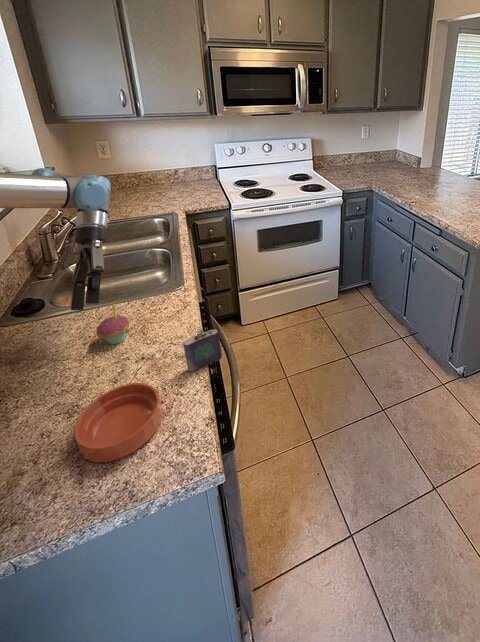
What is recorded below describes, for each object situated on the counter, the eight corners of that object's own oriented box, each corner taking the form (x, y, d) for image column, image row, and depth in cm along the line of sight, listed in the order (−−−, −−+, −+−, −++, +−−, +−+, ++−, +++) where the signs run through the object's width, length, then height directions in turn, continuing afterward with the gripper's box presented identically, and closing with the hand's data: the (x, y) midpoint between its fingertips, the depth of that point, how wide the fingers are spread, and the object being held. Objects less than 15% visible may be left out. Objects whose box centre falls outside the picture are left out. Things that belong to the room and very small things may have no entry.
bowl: (67, 474, 70) (61, 458, 68) (93, 406, 84) (89, 392, 83) (156, 451, 74) (152, 435, 72) (166, 390, 89) (163, 376, 87)
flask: (189, 374, 93) (183, 340, 90) (186, 367, 96) (180, 334, 92) (223, 358, 98) (218, 326, 95) (219, 352, 101) (215, 321, 97)
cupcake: (120, 327, 112) (112, 294, 108) (138, 334, 109) (130, 301, 105) (93, 344, 105) (83, 309, 101) (112, 353, 101) (102, 317, 97)
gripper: (121, 218, 95) (116, 299, 88) (93, 241, 110) (87, 311, 104) (89, 214, 89) (80, 300, 83) (64, 238, 105) (55, 313, 98)
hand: (84, 306), depth 93 cm, fingers open, 13 cm apart
